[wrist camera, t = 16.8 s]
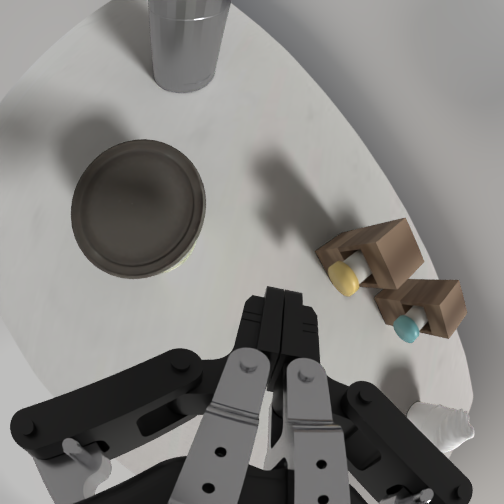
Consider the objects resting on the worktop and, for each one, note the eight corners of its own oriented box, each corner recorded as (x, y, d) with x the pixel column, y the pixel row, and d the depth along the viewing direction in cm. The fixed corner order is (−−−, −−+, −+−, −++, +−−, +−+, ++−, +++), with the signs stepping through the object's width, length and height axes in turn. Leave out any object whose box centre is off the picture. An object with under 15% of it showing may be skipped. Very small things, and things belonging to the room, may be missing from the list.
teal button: (389, 318, 31) (409, 322, 27) (420, 286, 33) (439, 287, 29) (398, 339, 31) (417, 345, 28) (427, 308, 33) (446, 310, 29)
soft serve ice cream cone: (416, 428, 39) (469, 456, 24) (392, 430, 38) (448, 465, 22) (433, 392, 41) (490, 415, 25) (410, 391, 39) (473, 419, 23)
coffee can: (118, 276, 30) (71, 282, 16) (116, 193, 31) (76, 147, 17) (201, 271, 32) (210, 274, 19) (197, 187, 33) (204, 135, 19)
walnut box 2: (373, 297, 38) (439, 305, 25) (394, 278, 39) (458, 280, 26) (385, 324, 38) (448, 338, 25) (405, 305, 39) (467, 312, 26)
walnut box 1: (314, 251, 36) (375, 242, 23) (341, 232, 37) (405, 217, 24) (332, 284, 36) (397, 289, 23) (358, 264, 37) (424, 261, 25)
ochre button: (323, 266, 29) (341, 265, 26) (365, 234, 31) (385, 230, 27) (338, 295, 30) (357, 298, 26) (378, 261, 31) (399, 260, 27)
